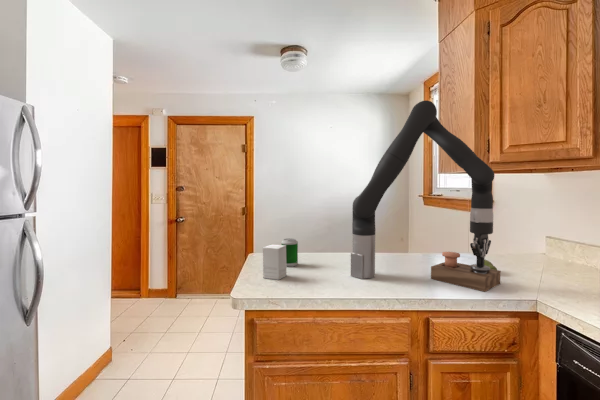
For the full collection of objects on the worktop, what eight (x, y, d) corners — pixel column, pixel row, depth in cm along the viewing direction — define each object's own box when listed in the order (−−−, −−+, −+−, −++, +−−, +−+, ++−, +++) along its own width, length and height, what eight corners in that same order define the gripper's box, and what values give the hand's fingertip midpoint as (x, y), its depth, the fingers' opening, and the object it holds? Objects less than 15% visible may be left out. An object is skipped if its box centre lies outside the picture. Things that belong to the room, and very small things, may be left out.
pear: (486, 257, 142) (502, 266, 132) (484, 268, 143) (500, 278, 133) (474, 257, 141) (490, 267, 132) (472, 268, 142) (488, 279, 133)
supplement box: (287, 275, 134) (287, 245, 133) (278, 280, 127) (278, 248, 127) (271, 273, 137) (271, 243, 137) (262, 278, 131) (262, 247, 130)
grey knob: (485, 284, 117) (485, 269, 117) (467, 280, 122) (467, 266, 121) (492, 281, 121) (492, 266, 121) (474, 277, 126) (474, 263, 126)
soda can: (297, 267, 147) (297, 241, 147) (281, 267, 147) (280, 241, 147) (297, 263, 155) (297, 238, 154) (282, 263, 155) (282, 238, 154)
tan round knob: (455, 270, 125) (455, 255, 125) (439, 266, 130) (439, 253, 130) (462, 267, 129) (462, 253, 129) (446, 264, 134) (447, 251, 134)
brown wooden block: (484, 291, 113) (485, 277, 113) (430, 278, 129) (431, 266, 129) (500, 283, 122) (500, 270, 122) (447, 272, 138) (448, 261, 138)
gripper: (478, 218, 127) (477, 261, 128) (462, 220, 119) (461, 267, 120) (499, 219, 121) (498, 265, 122) (485, 222, 113) (483, 271, 114)
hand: (480, 266), depth 121 cm, fingers closed
